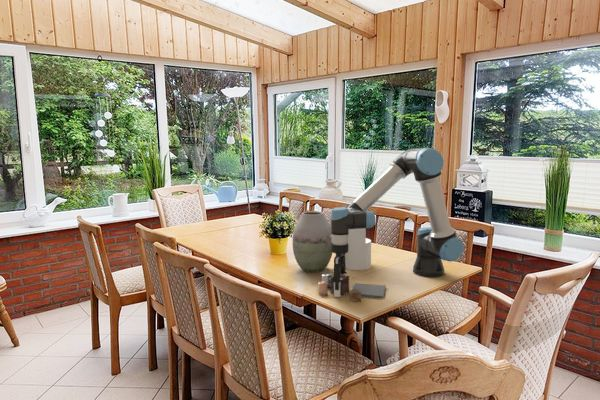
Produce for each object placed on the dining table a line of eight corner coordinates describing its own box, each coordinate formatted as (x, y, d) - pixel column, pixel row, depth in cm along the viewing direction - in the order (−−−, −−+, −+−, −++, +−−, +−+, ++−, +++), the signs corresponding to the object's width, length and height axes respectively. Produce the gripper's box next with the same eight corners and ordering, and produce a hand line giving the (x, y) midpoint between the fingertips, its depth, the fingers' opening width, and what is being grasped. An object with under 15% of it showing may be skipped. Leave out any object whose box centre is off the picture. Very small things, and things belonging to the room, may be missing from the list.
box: (338, 289, 191) (338, 273, 190) (349, 292, 187) (349, 276, 186) (330, 293, 186) (330, 277, 185) (341, 296, 182) (341, 279, 181)
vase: (299, 262, 235) (298, 209, 231) (337, 265, 228) (337, 210, 224) (287, 273, 214) (286, 215, 210) (328, 277, 208) (328, 217, 204)
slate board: (385, 287, 192) (385, 285, 191) (383, 298, 178) (383, 296, 178) (354, 285, 195) (354, 283, 195) (350, 296, 182) (350, 293, 182)
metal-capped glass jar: (333, 285, 196) (333, 273, 195) (331, 289, 191) (331, 276, 190) (323, 284, 197) (323, 272, 196) (320, 288, 192) (320, 275, 191)
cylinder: (352, 272, 215) (352, 218, 212) (332, 264, 230) (332, 213, 226) (377, 266, 225) (378, 214, 221) (356, 259, 239) (357, 210, 235)
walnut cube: (359, 298, 179) (359, 289, 179) (360, 302, 175) (361, 292, 175) (350, 298, 180) (350, 289, 179) (351, 302, 176) (351, 292, 175)
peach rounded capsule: (328, 292, 187) (328, 281, 186) (326, 295, 183) (326, 284, 182) (319, 291, 188) (319, 281, 187) (317, 295, 184) (317, 283, 183)
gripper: (336, 237, 195) (336, 283, 198) (325, 249, 173) (325, 300, 176) (352, 237, 193) (352, 284, 196) (343, 250, 171) (343, 302, 174)
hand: (339, 292), depth 186 cm, fingers open, 10 cm apart
